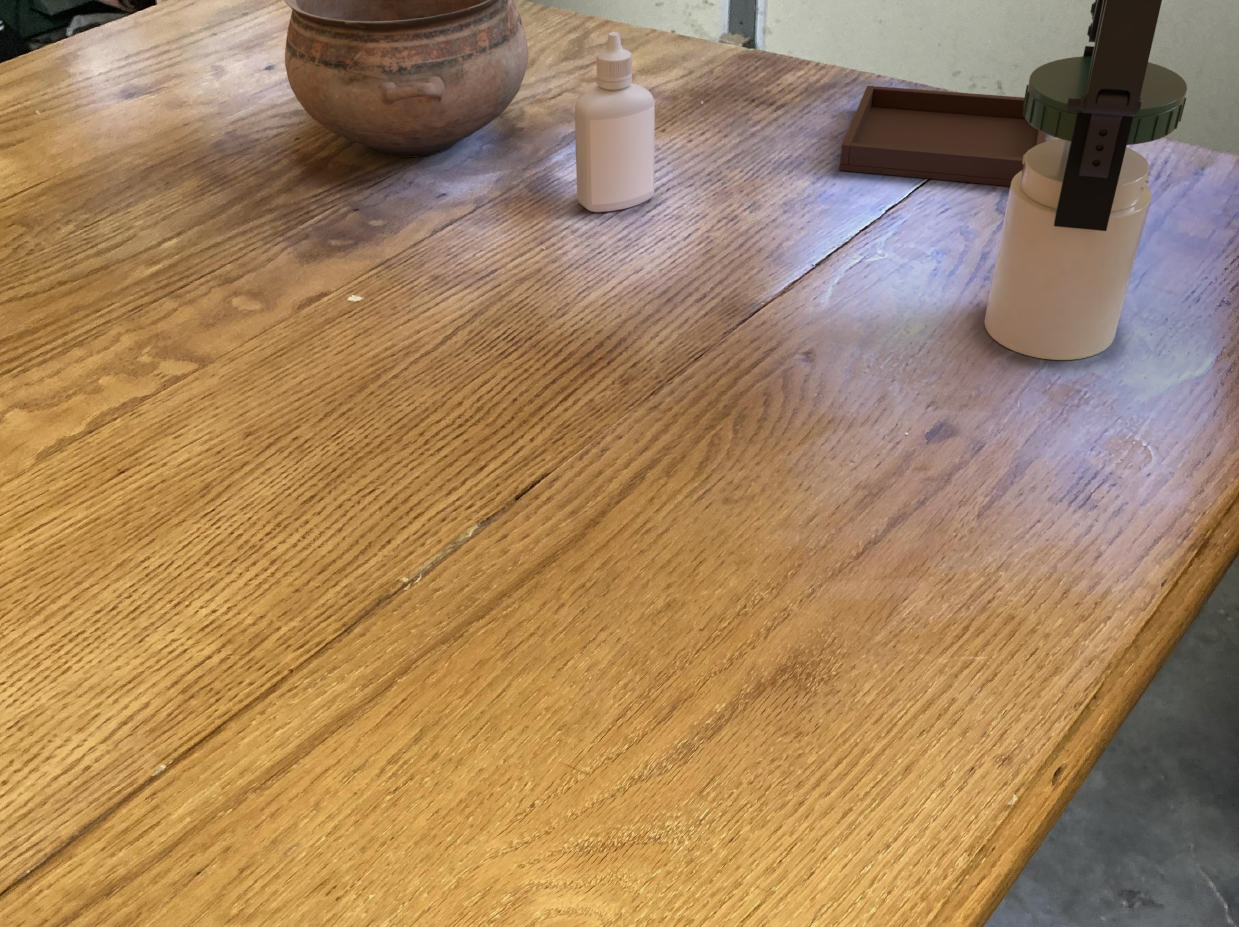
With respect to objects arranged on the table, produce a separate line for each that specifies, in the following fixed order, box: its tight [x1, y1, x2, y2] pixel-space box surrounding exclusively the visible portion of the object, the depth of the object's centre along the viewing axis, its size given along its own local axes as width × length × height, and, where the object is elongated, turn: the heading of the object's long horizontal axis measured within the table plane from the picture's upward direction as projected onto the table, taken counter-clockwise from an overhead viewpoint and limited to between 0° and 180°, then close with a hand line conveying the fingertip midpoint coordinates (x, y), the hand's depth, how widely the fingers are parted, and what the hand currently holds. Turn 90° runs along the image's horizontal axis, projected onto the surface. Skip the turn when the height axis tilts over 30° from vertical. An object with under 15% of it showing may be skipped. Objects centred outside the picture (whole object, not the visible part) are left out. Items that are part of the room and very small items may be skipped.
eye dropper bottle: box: [574, 31, 656, 213], centre depth 93 cm, size 4×6×12 cm
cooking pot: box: [283, 0, 529, 158], centre depth 103 cm, size 25×19×12 cm
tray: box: [839, 85, 1047, 187], centre depth 101 cm, size 14×12×2 cm
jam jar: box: [984, 138, 1153, 361], centre depth 77 cm, size 8×8×11 cm
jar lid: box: [1023, 55, 1188, 146], centre depth 72 cm, size 8×8×2 cm
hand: (1083, 191), depth 75 cm, fingers closed on jar lid, 8 cm apart
